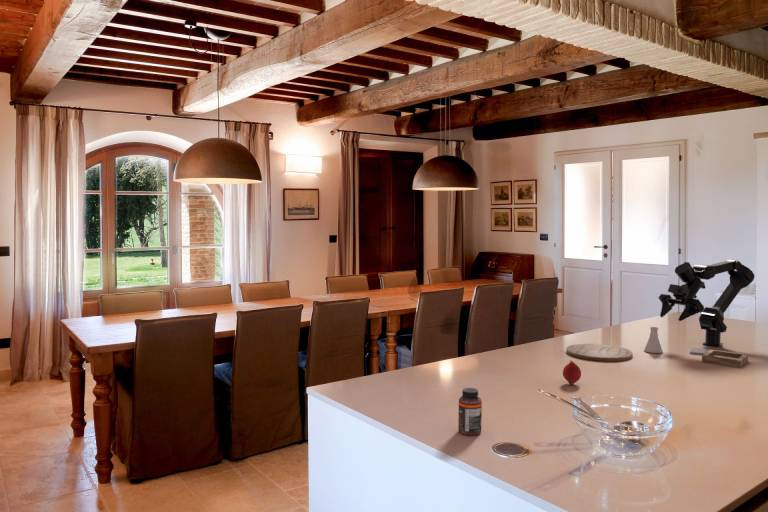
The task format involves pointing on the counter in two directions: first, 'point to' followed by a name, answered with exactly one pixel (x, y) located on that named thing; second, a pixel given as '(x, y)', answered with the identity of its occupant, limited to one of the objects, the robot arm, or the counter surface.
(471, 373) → the counter surface
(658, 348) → the flask
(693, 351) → the slate coaster
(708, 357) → the tray
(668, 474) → the counter surface
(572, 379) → the onion
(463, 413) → the supplement bottle
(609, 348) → the trivet
